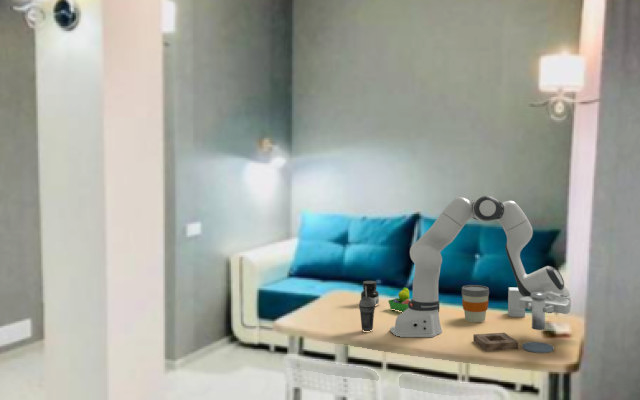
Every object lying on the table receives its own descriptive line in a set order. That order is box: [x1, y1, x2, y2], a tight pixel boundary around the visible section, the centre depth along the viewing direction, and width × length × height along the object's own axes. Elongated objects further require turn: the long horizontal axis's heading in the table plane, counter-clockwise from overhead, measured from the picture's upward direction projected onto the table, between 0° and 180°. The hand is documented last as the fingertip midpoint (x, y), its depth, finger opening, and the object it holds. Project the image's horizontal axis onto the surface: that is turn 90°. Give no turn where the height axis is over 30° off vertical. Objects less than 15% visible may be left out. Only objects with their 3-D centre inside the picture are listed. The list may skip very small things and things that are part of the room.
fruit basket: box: [387, 287, 410, 312], centre depth 346 cm, size 11×9×11 cm
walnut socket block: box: [472, 332, 519, 352], centre depth 289 cm, size 14×14×3 cm
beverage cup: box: [358, 286, 376, 331], centre depth 311 cm, size 7×7×20 cm
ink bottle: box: [360, 280, 380, 305], centre depth 357 cm, size 10×9×12 cm
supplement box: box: [507, 286, 526, 318], centre depth 335 cm, size 7×7×13 cm
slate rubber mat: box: [521, 341, 554, 354], centre depth 285 cm, size 12×12×1 cm
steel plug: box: [531, 292, 546, 331], centre depth 283 cm, size 6×6×14 cm
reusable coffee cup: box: [461, 284, 490, 323], centre depth 328 cm, size 12×12×15 cm
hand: (537, 309), depth 282 cm, fingers closed on steel plug, 5 cm apart
